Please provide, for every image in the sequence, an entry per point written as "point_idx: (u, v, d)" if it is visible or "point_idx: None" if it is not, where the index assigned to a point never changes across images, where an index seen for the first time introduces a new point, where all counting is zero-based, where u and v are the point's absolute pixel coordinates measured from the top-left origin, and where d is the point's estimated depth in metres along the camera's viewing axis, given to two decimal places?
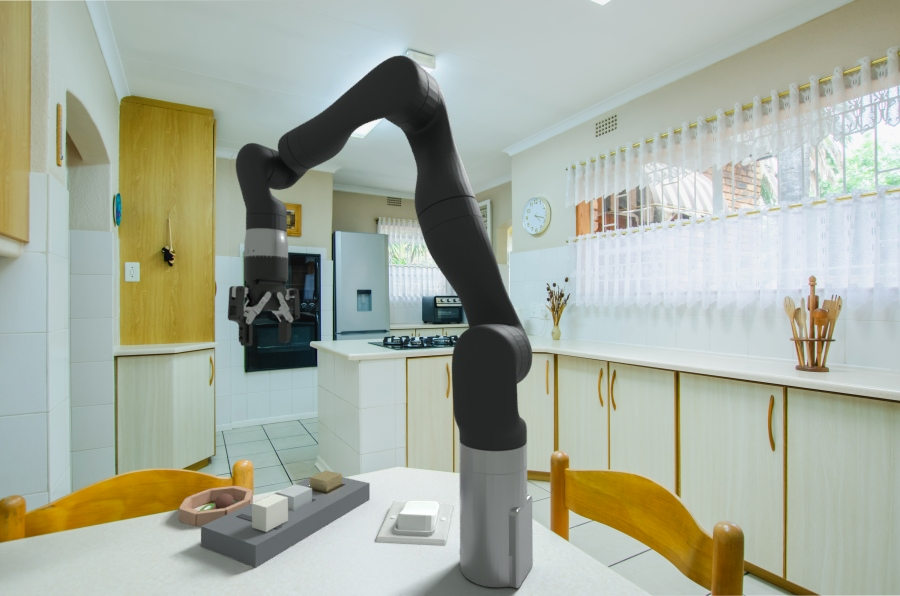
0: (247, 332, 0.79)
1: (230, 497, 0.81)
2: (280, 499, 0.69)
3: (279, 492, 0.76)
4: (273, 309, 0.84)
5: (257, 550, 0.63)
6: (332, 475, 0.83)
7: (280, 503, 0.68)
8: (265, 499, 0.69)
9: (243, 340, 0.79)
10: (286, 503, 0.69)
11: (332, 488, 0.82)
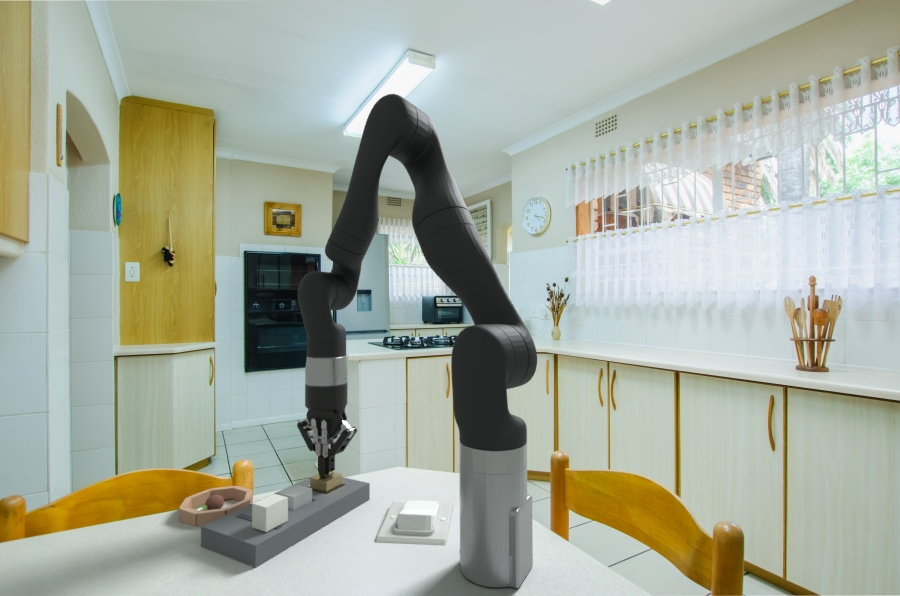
0: None
1: (221, 498, 0.81)
2: (280, 499, 0.69)
3: (279, 492, 0.76)
4: None
5: (257, 550, 0.63)
6: (332, 475, 0.83)
7: (280, 503, 0.68)
8: (265, 499, 0.69)
9: (333, 470, 0.83)
10: (286, 503, 0.69)
11: (332, 488, 0.82)
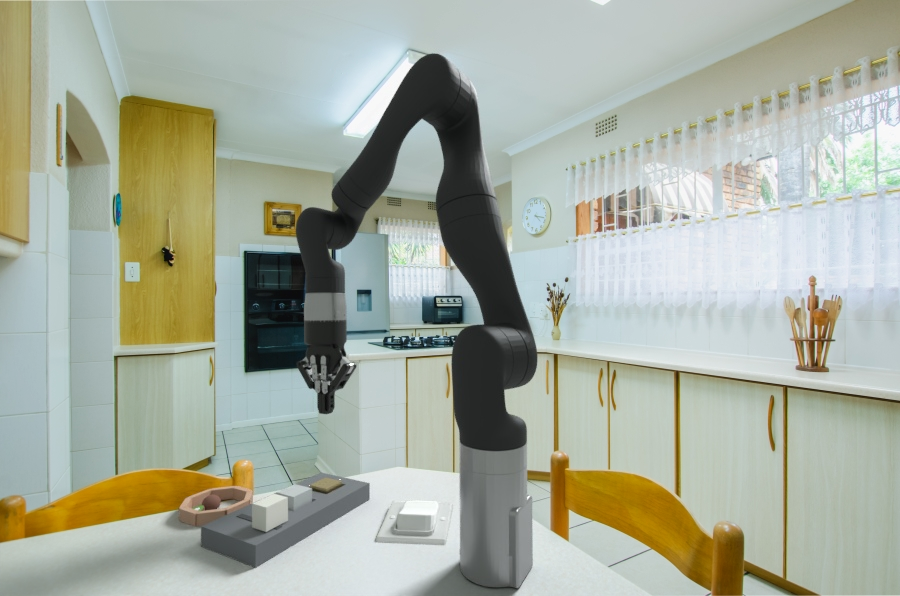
0: None
1: (218, 498, 0.81)
2: (280, 499, 0.69)
3: (279, 492, 0.76)
4: None
5: (257, 550, 0.63)
6: (332, 482, 0.83)
7: (280, 503, 0.68)
8: (265, 499, 0.69)
9: (333, 408, 0.83)
10: (286, 503, 0.69)
11: None
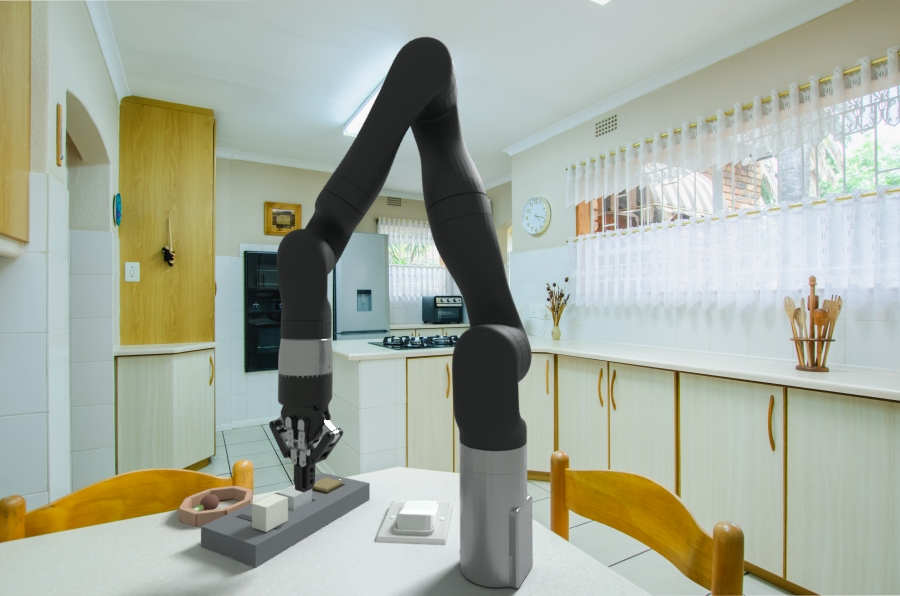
0: None
1: (216, 497, 0.81)
2: (280, 499, 0.69)
3: (279, 492, 0.76)
4: None
5: (257, 550, 0.63)
6: (332, 482, 0.83)
7: (280, 503, 0.68)
8: (265, 499, 0.69)
9: (313, 483, 0.65)
10: (286, 503, 0.69)
11: None
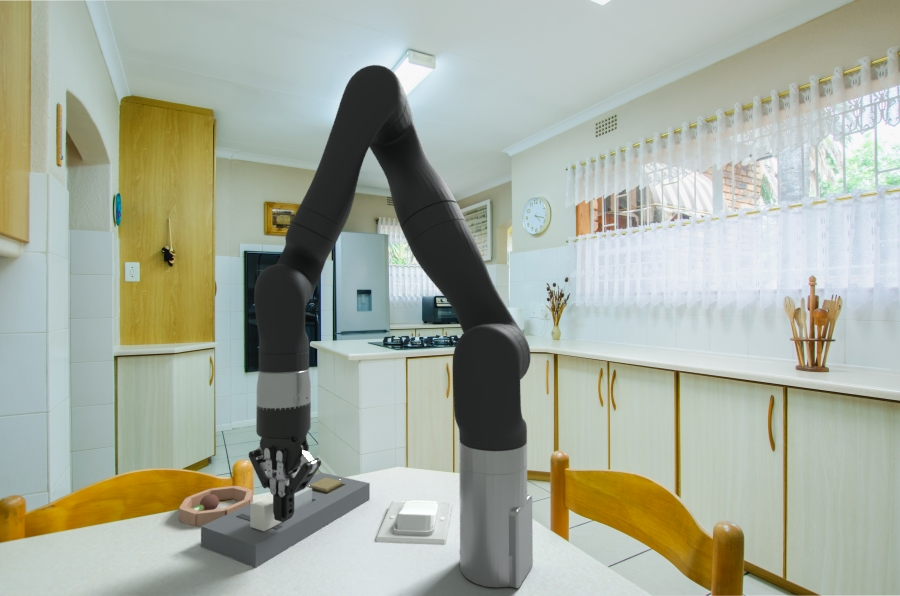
0: None
1: (216, 497, 0.81)
2: None
3: None
4: None
5: (257, 550, 0.63)
6: (332, 482, 0.83)
7: None
8: (263, 498, 0.69)
9: (292, 512, 0.67)
10: None
11: None
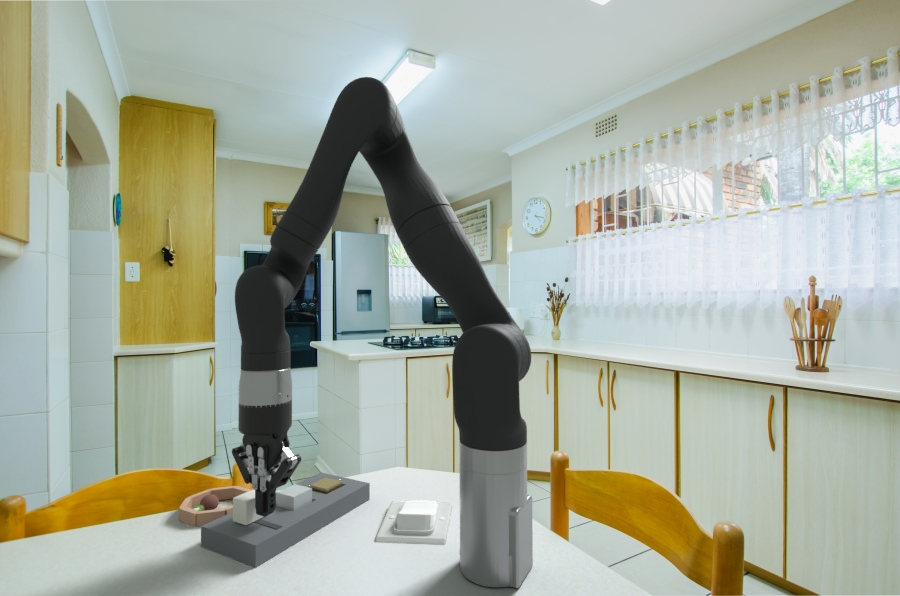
0: None
1: (216, 497, 0.81)
2: None
3: (279, 492, 0.76)
4: None
5: (257, 550, 0.63)
6: (332, 482, 0.83)
7: None
8: (246, 494, 0.71)
9: (274, 507, 0.68)
10: None
11: None
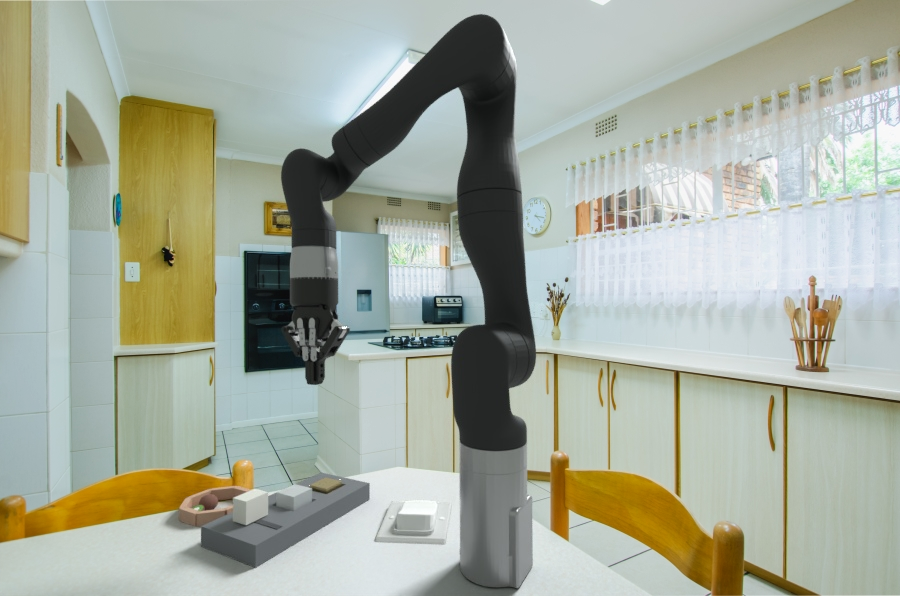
0: None
1: (215, 497, 0.81)
2: (260, 494, 0.71)
3: (279, 492, 0.76)
4: None
5: (257, 550, 0.63)
6: (332, 482, 0.83)
7: (261, 498, 0.70)
8: (246, 494, 0.71)
9: (323, 378, 0.73)
10: (266, 498, 0.71)
11: None
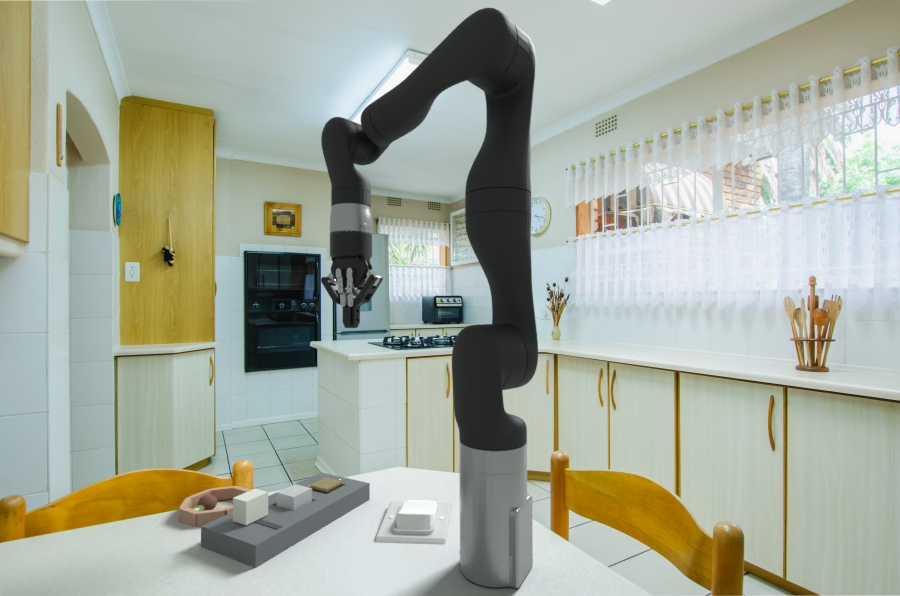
0: None
1: (214, 497, 0.81)
2: (260, 494, 0.71)
3: (279, 492, 0.76)
4: None
5: (257, 550, 0.63)
6: (332, 482, 0.83)
7: (261, 498, 0.70)
8: (246, 494, 0.71)
9: (358, 322, 0.82)
10: (266, 498, 0.71)
11: None
